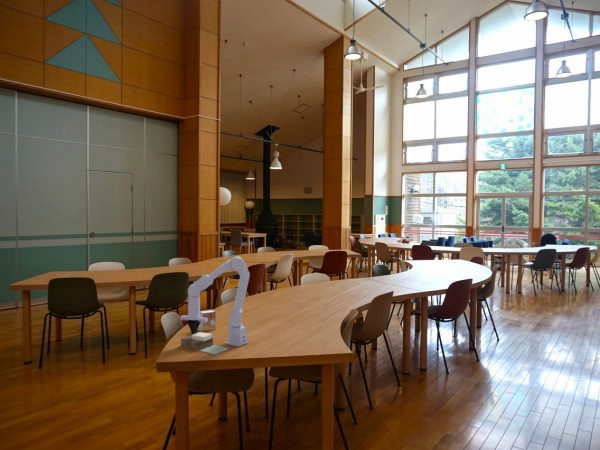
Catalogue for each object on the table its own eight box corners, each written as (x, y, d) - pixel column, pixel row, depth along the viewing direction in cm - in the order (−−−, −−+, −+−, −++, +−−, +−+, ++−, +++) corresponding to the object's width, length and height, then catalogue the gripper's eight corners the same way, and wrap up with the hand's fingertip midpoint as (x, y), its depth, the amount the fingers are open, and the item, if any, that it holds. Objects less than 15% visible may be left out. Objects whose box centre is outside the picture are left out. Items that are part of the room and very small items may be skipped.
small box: (202, 332, 237) (202, 313, 237) (198, 329, 241) (198, 311, 241) (215, 329, 242) (215, 311, 241) (211, 327, 246) (211, 309, 246)
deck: (212, 345, 213) (212, 337, 213) (198, 350, 205) (198, 342, 204) (195, 341, 219) (195, 333, 219) (180, 346, 211) (180, 338, 211)
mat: (229, 349, 207) (229, 348, 207) (214, 354, 199) (214, 353, 199) (214, 345, 212) (214, 344, 212) (199, 350, 204) (199, 350, 204)
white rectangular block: (212, 338, 212) (212, 334, 211) (204, 341, 206) (204, 337, 206) (199, 335, 215) (199, 331, 215) (191, 338, 210) (191, 334, 210)
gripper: (210, 307, 214) (210, 334, 214) (186, 305, 219) (186, 331, 219) (203, 310, 207) (203, 338, 208) (178, 308, 212) (178, 335, 213)
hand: (194, 335), depth 213 cm, fingers closed
